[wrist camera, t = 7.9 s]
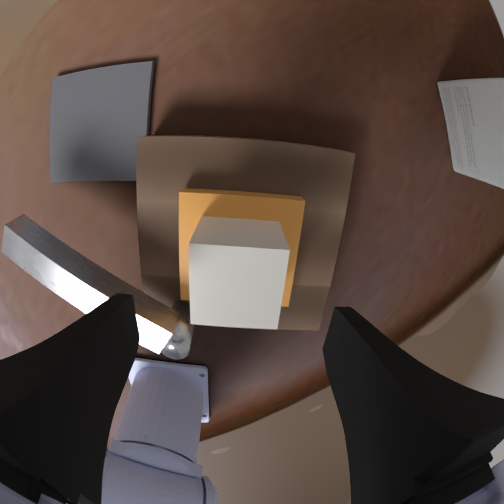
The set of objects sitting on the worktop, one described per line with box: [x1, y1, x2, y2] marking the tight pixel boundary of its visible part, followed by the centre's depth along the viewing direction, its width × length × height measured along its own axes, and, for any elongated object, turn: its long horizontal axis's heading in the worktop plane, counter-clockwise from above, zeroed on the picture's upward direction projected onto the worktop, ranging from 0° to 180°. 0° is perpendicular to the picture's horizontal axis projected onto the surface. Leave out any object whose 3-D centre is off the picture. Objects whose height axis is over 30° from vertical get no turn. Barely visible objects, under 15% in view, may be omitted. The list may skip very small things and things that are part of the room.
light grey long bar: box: [1, 214, 195, 360], centre depth 15 cm, size 13×2×3 cm, turn 56°
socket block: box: [136, 135, 355, 330], centre depth 18 cm, size 12×12×3 cm
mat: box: [49, 61, 155, 183], centre depth 16 cm, size 8×8×1 cm
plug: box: [179, 188, 305, 329], centre depth 16 cm, size 6×6×8 cm
